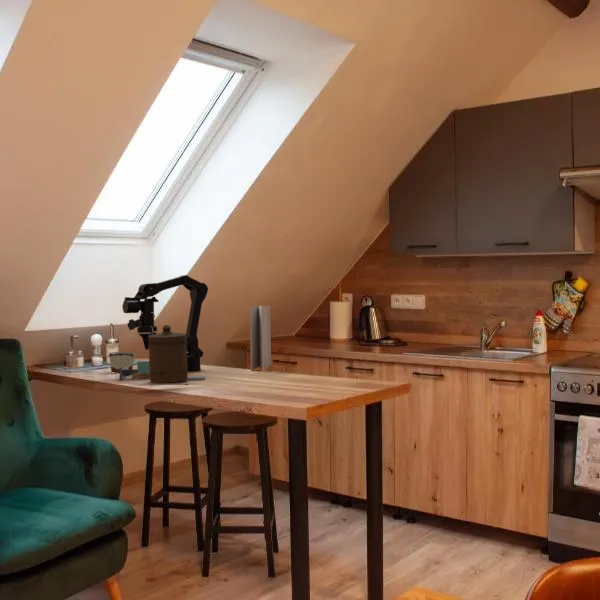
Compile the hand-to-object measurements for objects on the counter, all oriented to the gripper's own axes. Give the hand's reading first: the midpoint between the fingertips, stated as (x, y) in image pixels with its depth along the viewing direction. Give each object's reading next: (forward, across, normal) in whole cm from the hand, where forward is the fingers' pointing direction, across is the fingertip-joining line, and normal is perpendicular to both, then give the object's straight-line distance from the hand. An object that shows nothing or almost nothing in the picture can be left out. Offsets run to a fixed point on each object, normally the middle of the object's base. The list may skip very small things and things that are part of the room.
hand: (148, 349), depth 339 cm
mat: (+12, +16, +19) cm, 28 cm away
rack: (+12, +3, +1) cm, 12 cm away
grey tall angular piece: (+13, -7, +48) cm, 51 cm away
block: (+12, +1, +1) cm, 12 cm away
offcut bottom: (+13, +9, +1) cm, 16 cm away
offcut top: (+11, +10, +1) cm, 15 cm away
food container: (+12, -21, -14) cm, 28 cm away
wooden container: (+12, +25, +11) cm, 30 cm away
